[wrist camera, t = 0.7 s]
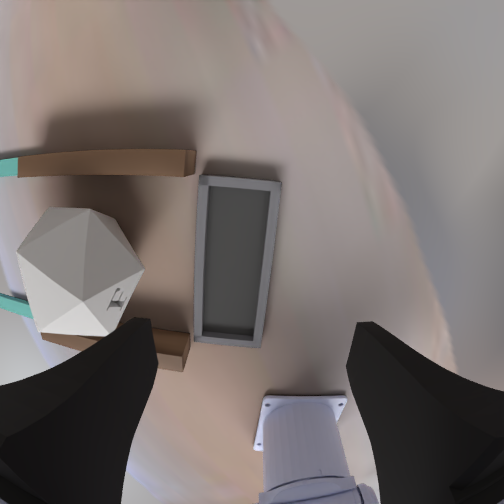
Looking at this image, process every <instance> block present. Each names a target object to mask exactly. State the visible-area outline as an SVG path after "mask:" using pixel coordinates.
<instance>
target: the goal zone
mask: <svg viewBox="0 0 504 504" xmlns="http://www.w3.org/2000/svg"><path fill="white" fill-rule="evenodd" d="M16 175H18V158H10V159H4V160H0V177H4V176H16ZM0 308H2V309H5V310H8V311H11V312H14V313H17V314H19V315H23V316H26V317H29V318H32V319H34V318H33V315H32V312H31V309H30V305H29V302H28V301H26V300H22V299H19V298H15V297H12V296H9V295H5V294H2V293H0Z"/></svg>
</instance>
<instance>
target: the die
mask: <svg viewBox="0 0 504 504" xmlns="http://www.w3.org/2000/svg"><path fill="white" fill-rule="evenodd" d="M16 253H17V258H18V263H19V267H20V272H21V276H22V280H23V284H24V288H25V291H26V295H27V299H28V302H29V305H30V309H31V312H32V315H33V318H34V321H35V324H36V327H37V330H38V332H44V333H55V334H68V335H84V336H107V335H108V334H110V333H111V332H113V331H114V330H115V329H116V327H117V325H118V323H119V320H120V318H121V316H122V314H123V312H124V310H125V308H126V306H127V304H128V302H129V300H130V298H131V295H132V293H133V291H134V289H135V287H136V285H137V283H138V282H139V280H140V278H141V276H142V274H143V272H144V270H145V268H144V266H143V265H142V263H141V261H140V260H139V258H138V257H137V255H136V253H135V252H134V250H133V248H132V247H131V245H130V243H129V242H128V240H127V238H126V237H125V235H124V233H123V232H122V230H121V228H120V226H119V225H118V223H117V221H116V219H115V218H112V217H110V216H107V215H105V214H102V213H100V212H97V211H95V210H92V209H86V208H65V207H49V208H48V209H47V210H46V212H45V213H44V214H43V215H42V217H41V218H40V219H39V221H38V222H37V223H36V224H35V226H34V227H33V228H32V230H31V231H30V233H29V234H28V235H27V237H26V238H25V240H24V241H23V242H22V244H21V245H20V247H19V248H18V250H17V251H16Z"/></svg>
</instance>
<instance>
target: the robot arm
mask: <svg viewBox="0 0 504 504" xmlns="http://www.w3.org/2000/svg"><path fill="white" fill-rule="evenodd" d="M158 364H159V363H158V358H157V353H156V348H155V343H154V338H153V332H152V327H151V321H150V319H147V318H136V317H134V318H133V319H131V320H129V321H127V322H126V323H124V324H123V325H121V326H120V327H118V328H117V329H115V330H114V331H113V332H111V333H110V334H108V335H107V336H105V337H104V338H102V339H101V340H99V341H98V342H96V343H95V344H93V345H92V346H90V347H88V348H87V349H85V350H83V351H82V352H80V353H79V354H77V355H75V356H74V357H72V358H70V359H68V360H67V361H65V362H63V363H61V364H59V365H57V366H55V367H53V368H50V369H48V370H46V371H44V372H41V373H39V374H36V375H33V376H31V377H28V378H26V379H23V380H20V381H16V382H13V383H9V384H5V385H1V386H0V504H121V498H122V490H123V482H124V476H125V471H126V466H127V461H128V456H129V452H130V448H131V443H132V440H133V437H134V434H135V431H136V429H137V426H138V424H139V421H140V418H141V416H142V413H143V411H144V408H145V406H146V403H147V401H148V398H149V396H150V393H151V390H152V388H153V385H154V381H155V377H156V373H157V368H158ZM346 369H347V373H348V378H349V382H350V386H351V390H352V393H353V396H354V398H355V401H356V404H357V406H358V409H359V412H360V414H361V417H362V420H363V422H364V425H365V428H366V430H367V433H368V436H369V439H370V442H371V446H372V450H373V455H374V460H375V465H376V470H377V476H378V483H379V491H380V501H381V504H504V391H500V390H495V389H493V388H489V387H486V386H483V385H481V384H478V383H475V382H473V381H470V380H467V379H465V378H463V377H461V376H459V375H457V374H455V373H453V372H451V371H449V370H447V369H445V368H443V367H441V366H439V365H438V364H436V363H434V362H433V361H431V360H429V359H428V358H426V357H424V356H423V355H421V354H420V353H418V352H417V351H415V350H414V349H412V348H411V347H409V346H408V345H406V344H405V343H404V342H402V341H401V340H399V339H398V338H397V337H395V336H394V335H392V334H391V333H389V332H388V331H387V330H385V329H384V328H382V327H381V326H379V325H377V324H376V323H374V322H357V324H356V329H355V333H354V337H353V341H352V345H351V349H350V353H349V357H348V361H347V364H346ZM346 402H347V397H346V396H344V395H340V396H272V395H268V396H265V397H264V398H263V402H262V407H261V412H260V417H259V422H258V427H257V432H256V437H255V442H254V450H256V451H263V482H264V492H263V493H259V503H253V504H379V503H378V500H377V497H376V494H375V492H374V490H373V489H372V488H371V487H369V486H367V485H366V484H364V483H362V484H359V485H357V486H356V483H355V479H354V476H350V472H349V468H348V464H347V460H346V456H345V453H344V449H343V445H342V441H341V437H340V434H339V430H338V426H337V421H338V419H339V417H340V415H341V413H342V411H343V409H344V406H345V404H346ZM267 403H269V404H267Z"/></svg>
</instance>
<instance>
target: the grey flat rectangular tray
mask: <svg viewBox="0 0 504 504" xmlns="http://www.w3.org/2000/svg"><path fill="white" fill-rule="evenodd" d="M281 185H282V182H280V181H273V180H263V179H253V178H243V177H231V176H218V175H204V174H202V175H199V187H198V202H197V220H196V241H195V270H194V342H201V343H210V344H219V345H229V346H239V347H251V348H260V347H261V341H262V334H263V327H264V319H265V312H266V305H267V298H268V290H269V283H270V275H271V267H272V260H273V252H274V244H275V236H276V228H277V220H278V211H279V203H280V194H281Z"/></svg>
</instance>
